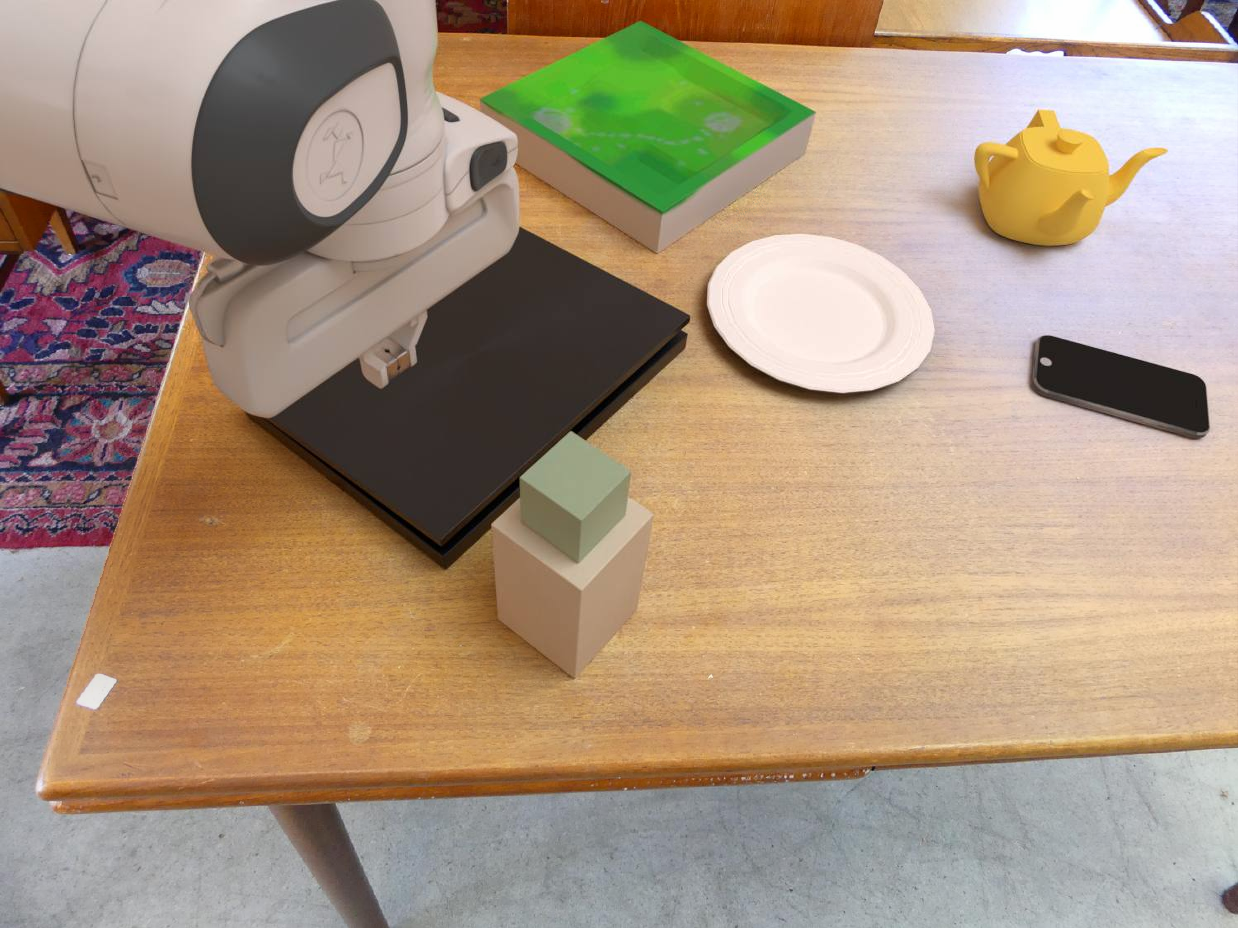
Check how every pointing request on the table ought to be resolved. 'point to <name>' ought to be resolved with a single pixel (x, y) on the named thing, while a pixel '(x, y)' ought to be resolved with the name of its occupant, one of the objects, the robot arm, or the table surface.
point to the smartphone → (1121, 386)
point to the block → (574, 496)
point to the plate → (820, 313)
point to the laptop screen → (484, 385)
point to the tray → (649, 132)
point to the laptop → (507, 497)
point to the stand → (569, 586)
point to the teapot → (1050, 182)
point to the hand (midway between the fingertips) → (390, 371)
